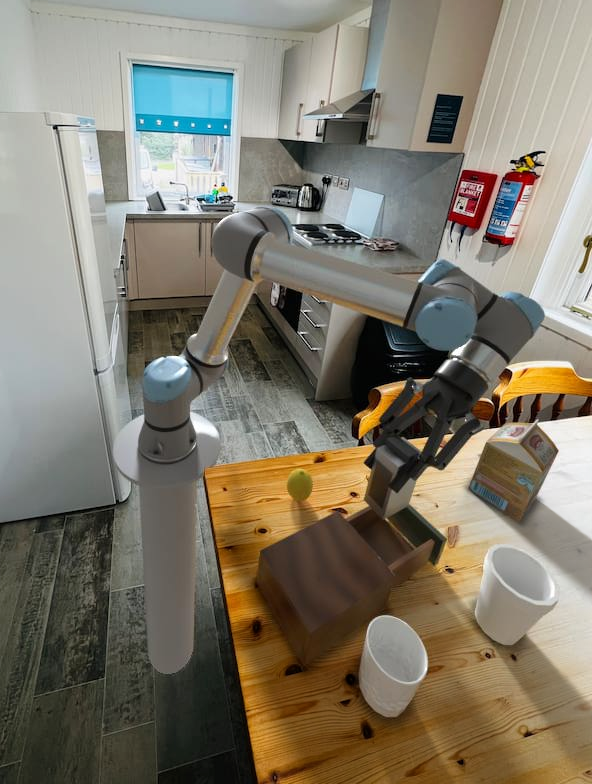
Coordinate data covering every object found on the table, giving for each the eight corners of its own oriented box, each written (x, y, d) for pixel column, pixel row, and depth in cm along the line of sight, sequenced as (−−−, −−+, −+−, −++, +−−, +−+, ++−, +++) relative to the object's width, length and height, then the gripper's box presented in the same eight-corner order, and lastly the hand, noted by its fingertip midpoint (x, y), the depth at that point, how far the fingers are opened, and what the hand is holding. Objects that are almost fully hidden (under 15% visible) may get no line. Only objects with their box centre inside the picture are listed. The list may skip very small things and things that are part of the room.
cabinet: (331, 541, 78) (338, 510, 75) (385, 608, 67) (395, 576, 64) (256, 582, 70) (259, 550, 67) (303, 667, 59) (311, 633, 56)
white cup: (380, 644, 63) (393, 605, 59) (422, 702, 56) (441, 663, 52) (342, 672, 59) (354, 632, 55) (384, 738, 53) (400, 698, 49)
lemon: (287, 509, 85) (291, 481, 81) (283, 487, 90) (287, 461, 87) (312, 509, 85) (317, 481, 82) (307, 488, 90) (311, 461, 87)
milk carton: (486, 468, 98) (511, 406, 91) (535, 498, 91) (567, 432, 83) (468, 488, 92) (493, 423, 85) (519, 521, 85) (551, 453, 77)
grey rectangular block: (362, 499, 71) (377, 442, 65) (388, 486, 74) (404, 430, 69) (382, 520, 67) (400, 461, 62) (409, 505, 70) (427, 448, 65)
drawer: (390, 509, 85) (396, 486, 82) (442, 560, 75) (451, 536, 72) (327, 544, 77) (332, 520, 74) (376, 607, 67) (384, 581, 64)
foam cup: (507, 595, 70) (532, 545, 65) (543, 658, 62) (576, 606, 57) (454, 592, 70) (475, 542, 65) (483, 654, 62) (510, 603, 57)
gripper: (527, 411, 62) (432, 526, 61) (428, 357, 76) (350, 449, 75) (520, 391, 57) (418, 515, 56) (417, 338, 71) (333, 436, 70)
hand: (379, 477), depth 66 cm, fingers closed on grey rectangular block, 5 cm apart
